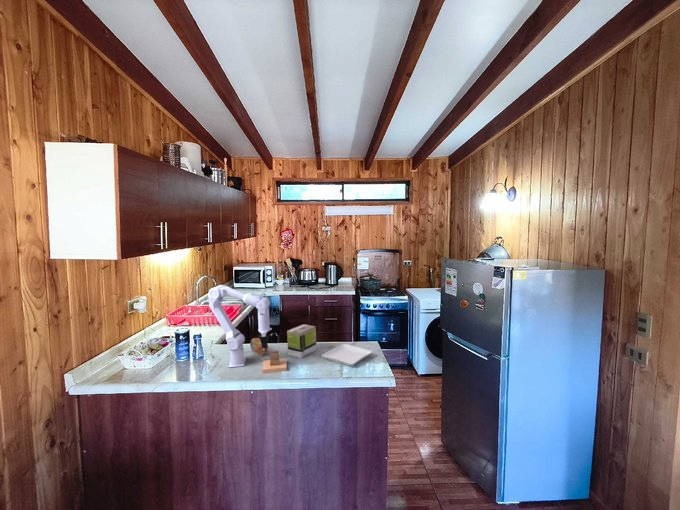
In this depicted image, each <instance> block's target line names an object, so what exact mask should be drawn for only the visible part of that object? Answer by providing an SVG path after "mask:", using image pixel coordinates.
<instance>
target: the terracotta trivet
mask: <svg viewBox="0 0 680 510" xmlns="http://www.w3.org/2000/svg"><path fill="white" fill-rule="evenodd" d="M287 371H288V369H287V357H286V358H279V365H274V366H270V359H266V360H264V359H263V361H262V374H269V373H271V374H272V373H281V372H287Z"/></svg>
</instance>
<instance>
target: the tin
mask: <svg viewBox="0 0 680 510" xmlns="http://www.w3.org/2000/svg"><path fill="white" fill-rule="evenodd" d="M249 345H250V348H251V351H252V352H253V353H255V354H257V355H260V356H263V355H266V354H267V353H268V351H269V344H268V343H267V348H262V345H261V341H260V339H259V337H254V338H253V337H252V338H251V340H250V344H249Z"/></svg>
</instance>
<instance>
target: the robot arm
mask: <svg viewBox="0 0 680 510" xmlns="http://www.w3.org/2000/svg"><path fill="white" fill-rule="evenodd" d="M207 297H208V305H209V308H210V310H211V312H212V313H213V315H214V316H215V319H216V320H217V322H218V324H220V325H219V326H220V327H221V328H222V330H223V332H224V334H225V341H226V342H227V343H226V344H227V345H226V346H227V348H228V349H229V364H228V368H235V367H238V368H239V367H244V366H245V363H246V360H247V359H246V358H245V356H244V355H245V353H244V352H245V351H244V343H245V340H246V339H245V338H246V337H245V335H244V334H242V333H241V332H240V330H238V329H237V328H235V326H234V324H233V323H232V321H231V319H230V317H229V316H228V314H227V312H226V311H225V309H224V308H223V306H222V301H223V299H224V298H226V297H231V298H234V299H237V300H238V299H239V300H242V301H243V303H244V304H246V305H248V306H252V307H254V308H256V309H257V320H258V321H257V323H258V328H257V329H258V332H259V335H258V337H257V338H259V339H260V341H261V345H262V348H267V344H268V341H269V338H270V334H269V333H270V331H272V329H273V328H272V327H270V311H269V309H270V308H269V307H270V304H271V302H270V299H269V298H267V297H266V296H264V297H262V296H258V295H255V294H254V293H253V292H248V293H246V294H245V293H243V292H241V291H239V290H237V289H233V288H232V287H229V286H227V285H224V284H219V285H217V286H215V287H212V288H210V289H209V290H208V293H207Z"/></svg>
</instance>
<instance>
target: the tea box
mask: <svg viewBox="0 0 680 510" xmlns="http://www.w3.org/2000/svg"><path fill="white" fill-rule="evenodd" d="M316 329H317V327H316V326H315V325H309V324H301V325H297V326H296V327H292V328H291V329H288V330H287V331H286V336H287V355H288V356H290V357H291V356H292V357H294V356H295V358H297V359H301V358H303V357H305V356H307V355H309V354H311V353H313V352H315V351H317V349H318V348H317V347H318V346H317V344H318V343H317V332H316V331H317V330H316Z"/></svg>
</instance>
